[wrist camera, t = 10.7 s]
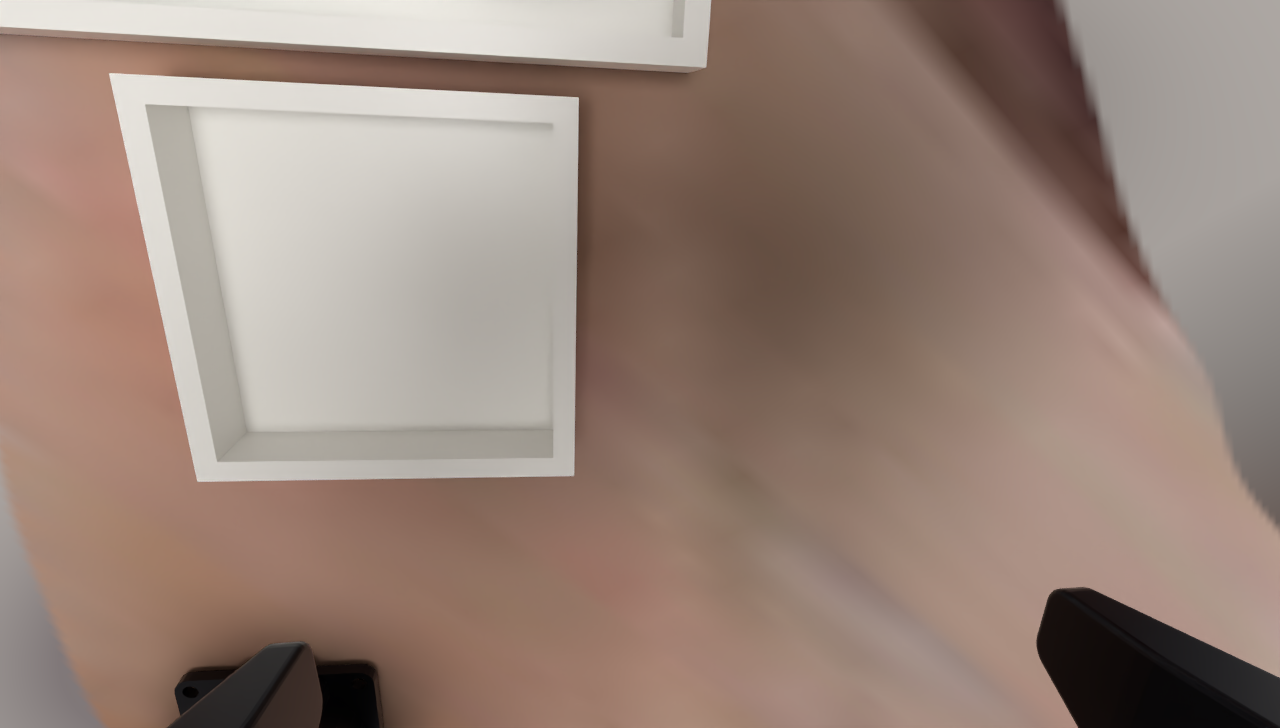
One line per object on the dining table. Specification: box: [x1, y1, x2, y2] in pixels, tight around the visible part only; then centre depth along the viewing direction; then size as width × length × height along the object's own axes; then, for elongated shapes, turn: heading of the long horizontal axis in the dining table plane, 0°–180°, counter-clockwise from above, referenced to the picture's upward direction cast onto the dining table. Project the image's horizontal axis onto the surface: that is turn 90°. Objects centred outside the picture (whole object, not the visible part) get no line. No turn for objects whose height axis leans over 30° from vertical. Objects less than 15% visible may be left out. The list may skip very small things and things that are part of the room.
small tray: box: [109, 73, 579, 482], centre depth 18 cm, size 10×10×2 cm
